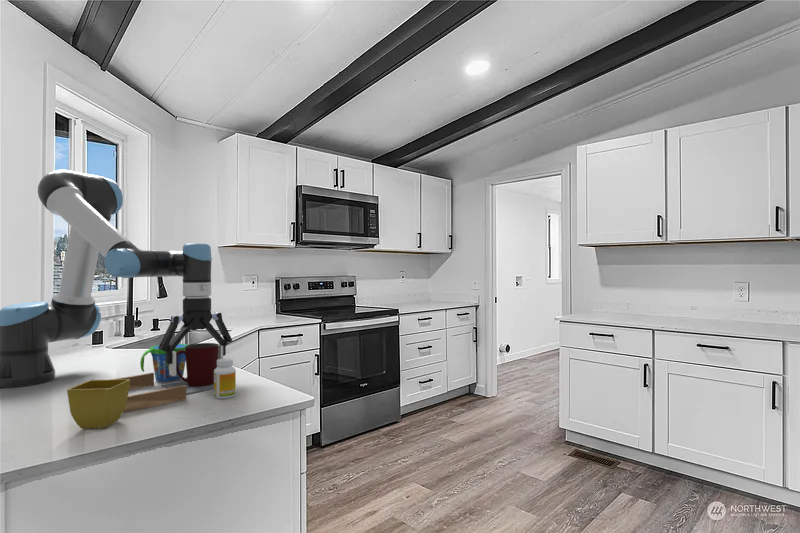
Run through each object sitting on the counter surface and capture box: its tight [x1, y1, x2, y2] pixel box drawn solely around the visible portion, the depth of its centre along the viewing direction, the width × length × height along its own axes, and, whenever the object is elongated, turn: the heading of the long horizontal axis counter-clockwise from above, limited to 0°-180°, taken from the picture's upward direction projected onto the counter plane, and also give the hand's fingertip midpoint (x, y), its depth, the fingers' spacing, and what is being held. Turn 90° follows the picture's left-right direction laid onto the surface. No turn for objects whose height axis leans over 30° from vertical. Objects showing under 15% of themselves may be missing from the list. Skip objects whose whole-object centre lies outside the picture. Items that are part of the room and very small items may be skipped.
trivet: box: [161, 380, 214, 396], centre depth 133 cm, size 14×14×1 cm
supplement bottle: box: [213, 357, 237, 400], centre depth 122 cm, size 5×5×10 cm
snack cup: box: [140, 343, 188, 383], centre depth 141 cm, size 16×10×10 cm
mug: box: [176, 342, 219, 387], centre depth 133 cm, size 12×9×11 cm
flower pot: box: [66, 379, 130, 430], centre depth 100 cm, size 9×9×9 cm
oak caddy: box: [109, 372, 187, 414], centre depth 120 cm, size 22×18×4 cm
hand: (197, 371), depth 133 cm, fingers open, 13 cm apart
